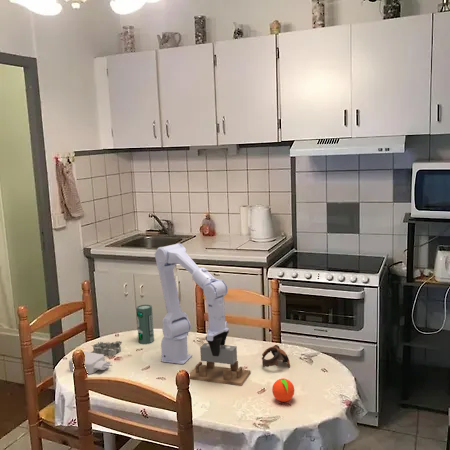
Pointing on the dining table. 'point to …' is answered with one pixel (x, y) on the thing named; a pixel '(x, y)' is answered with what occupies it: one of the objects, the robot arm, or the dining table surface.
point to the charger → (93, 362)
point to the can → (145, 324)
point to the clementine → (283, 390)
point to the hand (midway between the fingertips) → (218, 353)
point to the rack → (220, 373)
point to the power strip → (225, 355)
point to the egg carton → (107, 348)
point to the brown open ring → (275, 356)
